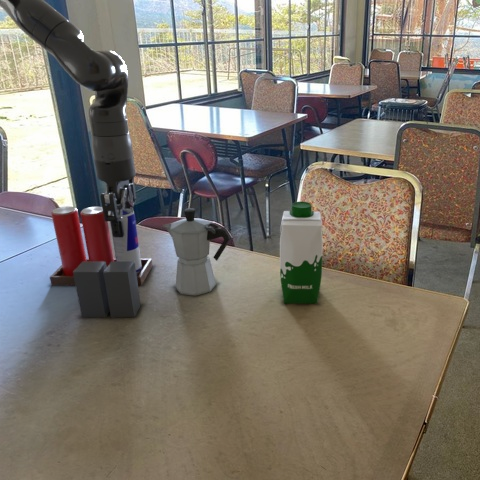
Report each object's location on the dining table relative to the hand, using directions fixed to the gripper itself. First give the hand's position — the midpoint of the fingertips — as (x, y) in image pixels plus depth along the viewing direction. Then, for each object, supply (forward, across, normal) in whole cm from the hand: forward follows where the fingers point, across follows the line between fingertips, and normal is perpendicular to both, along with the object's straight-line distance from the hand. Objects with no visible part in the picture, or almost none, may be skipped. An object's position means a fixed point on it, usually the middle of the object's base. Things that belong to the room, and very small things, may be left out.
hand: (124, 229), depth 105 cm
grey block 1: (+11, +15, -2) cm, 19 cm away
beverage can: (+11, 0, 0) cm, 11 cm away
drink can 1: (+11, 0, -12) cm, 16 cm away
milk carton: (+12, +9, +38) cm, 41 cm away
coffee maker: (+12, +5, +16) cm, 21 cm away
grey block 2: (+11, +15, +4) cm, 19 cm away
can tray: (+11, 0, -6) cm, 13 cm away
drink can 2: (+11, 0, -6) cm, 12 cm away
